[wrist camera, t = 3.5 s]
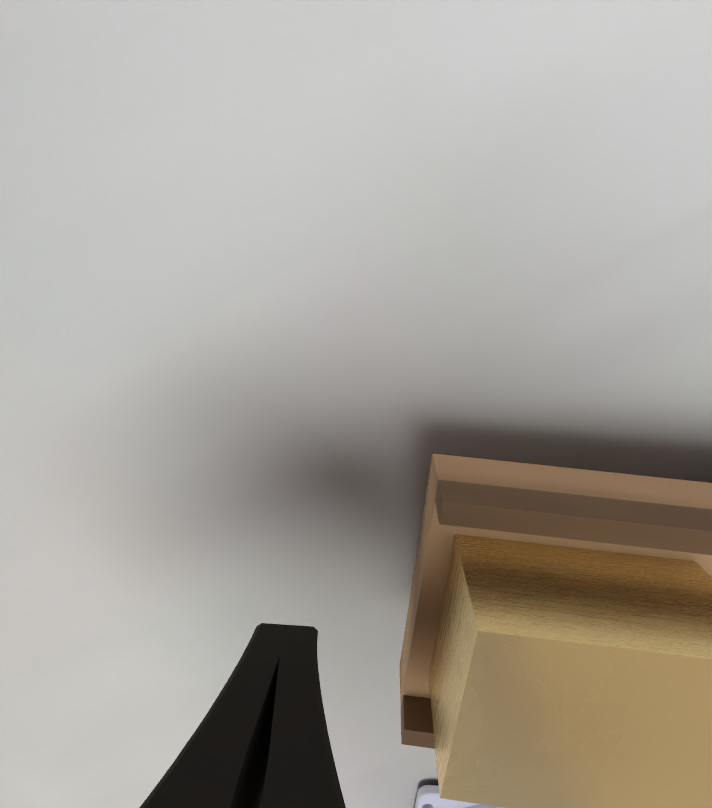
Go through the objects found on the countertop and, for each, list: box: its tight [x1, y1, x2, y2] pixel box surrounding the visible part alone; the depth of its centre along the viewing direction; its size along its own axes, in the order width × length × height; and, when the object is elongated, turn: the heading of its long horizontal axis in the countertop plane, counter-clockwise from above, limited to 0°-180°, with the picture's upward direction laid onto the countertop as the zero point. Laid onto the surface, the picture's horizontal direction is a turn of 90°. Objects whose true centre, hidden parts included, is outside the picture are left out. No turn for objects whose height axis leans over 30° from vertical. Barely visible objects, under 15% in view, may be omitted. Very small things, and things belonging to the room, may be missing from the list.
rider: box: [428, 534, 712, 808], centre depth 10 cm, size 5×6×3 cm
